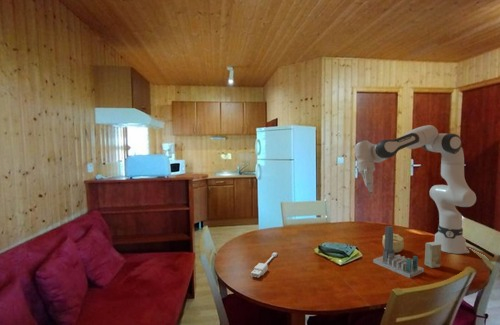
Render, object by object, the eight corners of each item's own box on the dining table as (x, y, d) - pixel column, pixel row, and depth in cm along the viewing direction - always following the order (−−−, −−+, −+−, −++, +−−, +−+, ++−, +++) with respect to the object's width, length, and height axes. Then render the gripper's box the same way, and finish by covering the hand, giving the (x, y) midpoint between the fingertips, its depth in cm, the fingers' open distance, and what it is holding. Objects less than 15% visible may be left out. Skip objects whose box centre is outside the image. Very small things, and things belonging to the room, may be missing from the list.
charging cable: (280, 256, 160) (280, 250, 160) (259, 279, 131) (259, 272, 130) (272, 255, 162) (272, 249, 162) (250, 277, 133) (250, 270, 132)
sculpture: (382, 252, 160) (382, 235, 160) (382, 245, 171) (382, 229, 170) (403, 255, 155) (404, 237, 154) (403, 248, 166) (403, 231, 165)
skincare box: (431, 268, 139) (432, 245, 138) (424, 264, 143) (424, 242, 142) (441, 266, 141) (441, 244, 140) (433, 263, 145) (434, 241, 144)
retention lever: (384, 253, 145) (385, 226, 144) (389, 252, 147) (389, 225, 146) (388, 255, 143) (388, 227, 142) (392, 253, 145) (393, 226, 144)
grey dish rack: (373, 262, 147) (373, 248, 146) (386, 257, 153) (387, 244, 152) (409, 278, 129) (410, 262, 129) (423, 272, 135) (424, 256, 135)
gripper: (373, 163, 141) (378, 189, 137) (371, 170, 159) (376, 193, 156) (360, 165, 143) (365, 191, 140) (360, 172, 162) (364, 194, 158)
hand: (371, 192), depth 148 cm, fingers open, 8 cm apart
